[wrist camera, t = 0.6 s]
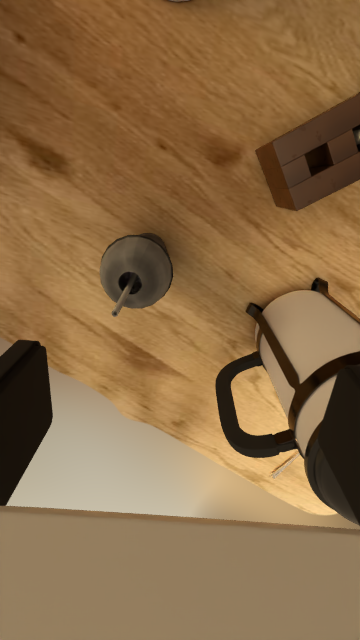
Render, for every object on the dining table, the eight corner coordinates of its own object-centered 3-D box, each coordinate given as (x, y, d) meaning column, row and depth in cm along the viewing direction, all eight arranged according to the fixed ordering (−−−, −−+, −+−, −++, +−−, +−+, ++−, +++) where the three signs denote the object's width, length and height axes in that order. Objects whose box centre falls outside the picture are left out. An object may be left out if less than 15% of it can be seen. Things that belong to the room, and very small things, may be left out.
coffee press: (271, 251, 42) (433, 377, 14) (367, 303, 45) (661, 495, 17) (207, 353, 48) (235, 579, 21) (295, 394, 51) (425, 643, 23)
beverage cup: (185, 237, 42) (185, 278, 23) (162, 285, 44) (145, 357, 26) (134, 211, 40) (90, 234, 22) (113, 263, 43) (59, 321, 25)
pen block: (255, 150, 38) (271, 142, 30) (395, 72, 34) (452, 41, 27) (276, 206, 40) (296, 211, 33) (409, 138, 37) (465, 126, 29)
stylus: (361, 417, 51) (280, 486, 57) (358, 413, 52) (278, 481, 58) (342, 404, 50) (262, 475, 56) (340, 400, 51) (261, 471, 57)
